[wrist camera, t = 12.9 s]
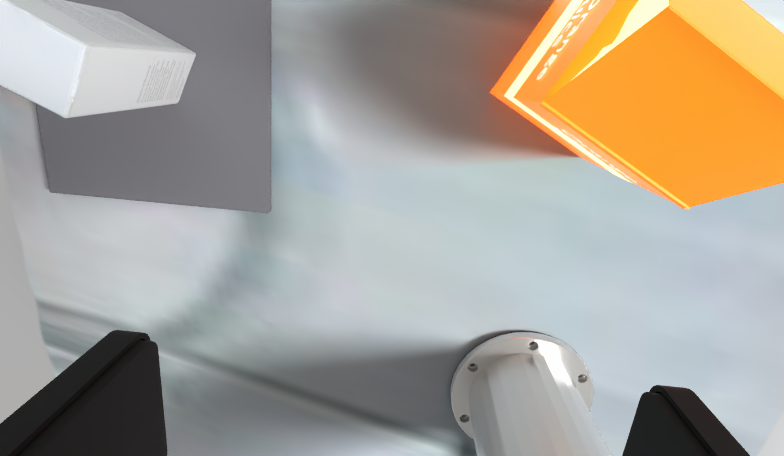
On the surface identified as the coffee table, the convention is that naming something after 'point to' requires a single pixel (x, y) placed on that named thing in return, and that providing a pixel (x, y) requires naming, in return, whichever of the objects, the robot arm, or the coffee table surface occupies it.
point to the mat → (180, 117)
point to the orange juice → (658, 92)
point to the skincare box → (87, 58)
